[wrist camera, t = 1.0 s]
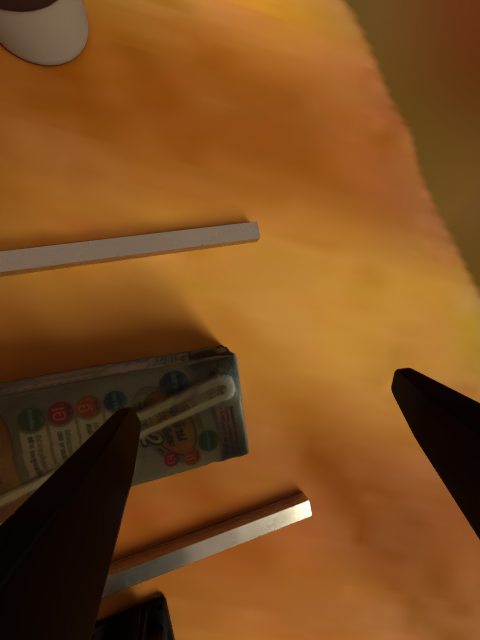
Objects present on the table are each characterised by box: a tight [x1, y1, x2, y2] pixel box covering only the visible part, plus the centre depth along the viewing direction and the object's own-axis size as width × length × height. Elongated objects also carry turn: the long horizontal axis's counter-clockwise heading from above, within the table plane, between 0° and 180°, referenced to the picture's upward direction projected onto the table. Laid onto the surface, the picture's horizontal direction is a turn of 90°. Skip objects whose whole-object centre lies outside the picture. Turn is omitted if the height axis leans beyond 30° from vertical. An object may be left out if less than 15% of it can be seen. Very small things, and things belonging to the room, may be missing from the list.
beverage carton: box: [0, 345, 249, 524], centre depth 18 cm, size 8×19×7 cm, turn 98°
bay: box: [0, 221, 312, 598], centre depth 20 cm, size 28×31×3 cm
